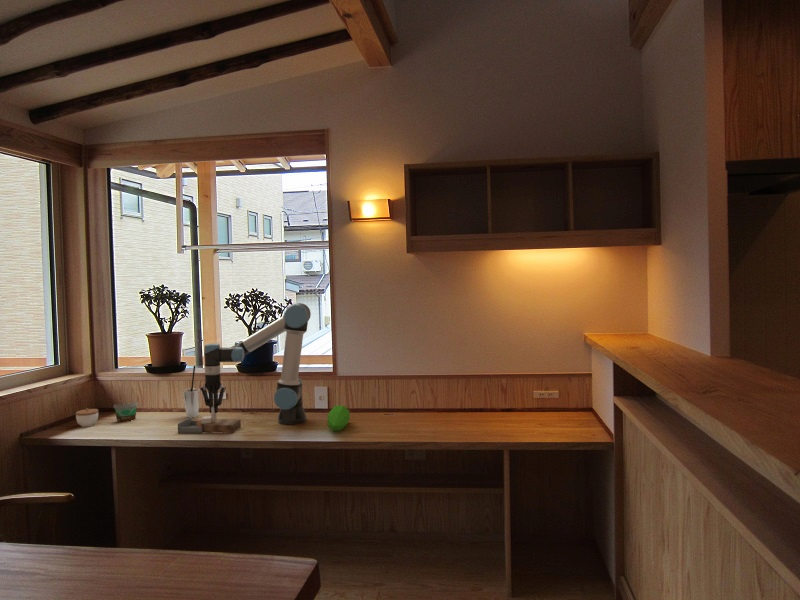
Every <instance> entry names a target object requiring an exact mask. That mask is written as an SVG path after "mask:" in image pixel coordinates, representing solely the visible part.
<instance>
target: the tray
mask: <svg viewBox="0 0 800 600" xmlns="http://www.w3.org/2000/svg"><path fill="white" fill-rule="evenodd" d="M203 432H204V429H202V427H197V421H196V420H193V419H192V417H189V418H187V417H186V418H185V419H183V420H182V421H180V422H179V423H177V434H198V433H202V434H204V433H203Z"/></svg>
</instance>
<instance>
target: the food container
mask: <svg viewBox="0 0 800 600" xmlns="http://www.w3.org/2000/svg"><path fill="white" fill-rule="evenodd" d="M138 405H139V403H138V401H137V400H136V401H135V402H125V403H121V404H118V403H117V404H115V403H114V404H113V409H114V410H115V411H114V412H115V417H116V422H118V423H127V421H129V422H132V421H131V420H133V421H135V420H136V417H137V406H138ZM134 419H135V420H134Z"/></svg>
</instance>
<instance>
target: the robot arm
mask: <svg viewBox="0 0 800 600" xmlns="http://www.w3.org/2000/svg"><path fill="white" fill-rule="evenodd" d="M311 314H312V313H311V309H310V308H309V307H308V305H306V304H304V303H301V302H298V303H292V304H290V305H289V306H288V307H287V308H286V309H285V311H284V312H283V314H282V316H281V317H279V318H278V319H276V320H274V321H273V322H271V323H269V324H268V325H266V326H264V327H263V328H261V329H259V330H257V331H256V332H254V333H252V334H251V335H250V336H248V337H246V338H244V339H243V340H241V341H239V342H238V343H236V344H234V345H233V346H231V347H221V345H220V343H207V344H205V345H204V352H203V354H204V373H205V375H204V385H203V386H201V387H200V389H201V390H200V392H202V397H203V400H204V405H205V407H208V408H209V413H210V414H211V415H210V416H211V420H215V419H217V413H218V412H219V406H221V405H222V403H223V399H224V394H225V391H226V389H227V387H226V386H223V385H222V382H221V381H222V380H221V376H222V375H221V363H242V362H243V361H244V360H245V356H246V355H248V354H250V353H251V352H253V351H255V350H256V349H258V348H260V347H262V346H264V344H266V343H268V342H269V341H271V340H273V339H274V338H275V339H276V337H278V336H279V335H281V334H283V333H286V334H285V341H284V342H285V343H284V350H283V357H282V367H281V373H280V374H281V375H280V378H279V379H278V380H277V383H276V391H275V393H274V395H273V401H274V403H275V405H276V407H277V408H279V413H278V415H277V416H278V417H277V422H278V424H281V425H296V424H297V425H298V424H301V423H305V422H306V421H307V414H306V411H305V409H304V406H303V404H304V403H303V401H304V400H303V380H302V379H301V378H299V373H300V372H299V371H300V363H301V355H302V347H303V339H304V334H306V333H307V331H308V326H309V325H308V323H309V320H310V319H311V316H312V315H311ZM219 390H220V391H219Z"/></svg>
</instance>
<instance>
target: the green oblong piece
mask: <svg viewBox="0 0 800 600" xmlns="http://www.w3.org/2000/svg"><path fill="white" fill-rule="evenodd" d="M350 417H351V416H350V410H349V409H348V408H347V407H346V406H345V405H334V406H333V407H332V408H331V410H330V411H329V412H328V414H327V426H328V428H330V430H331V431H333V432H334V431H337V432H338V431H341V430H343V429H344V428H345V427H346V426H347V425H348V424H349V421H350V419H351V418H350ZM342 428H343V429H342Z"/></svg>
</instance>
